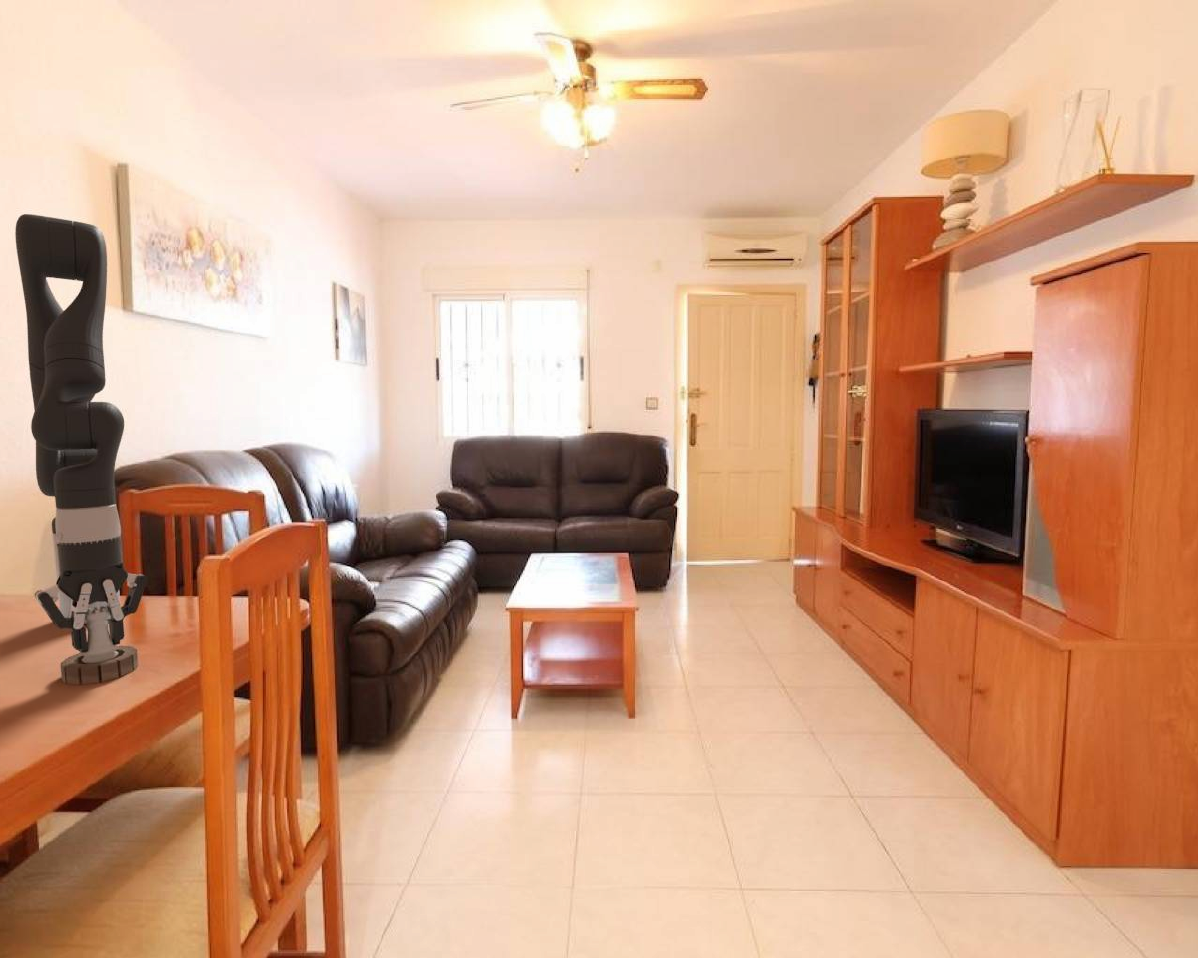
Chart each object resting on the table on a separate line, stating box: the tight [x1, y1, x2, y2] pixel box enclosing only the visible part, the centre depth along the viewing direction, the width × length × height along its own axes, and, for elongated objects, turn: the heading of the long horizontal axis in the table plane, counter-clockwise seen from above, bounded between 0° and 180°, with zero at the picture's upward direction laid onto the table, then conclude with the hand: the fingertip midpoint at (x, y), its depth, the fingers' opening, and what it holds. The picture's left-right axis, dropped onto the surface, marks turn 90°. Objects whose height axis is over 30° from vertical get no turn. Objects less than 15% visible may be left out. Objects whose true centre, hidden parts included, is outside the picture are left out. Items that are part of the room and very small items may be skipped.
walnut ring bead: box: [60, 645, 139, 686], centre depth 98 cm, size 9×9×2 cm
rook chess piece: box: [82, 606, 119, 664], centre depth 97 cm, size 4×4×8 cm
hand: (99, 646), depth 97 cm, fingers closed on rook chess piece, 3 cm apart
